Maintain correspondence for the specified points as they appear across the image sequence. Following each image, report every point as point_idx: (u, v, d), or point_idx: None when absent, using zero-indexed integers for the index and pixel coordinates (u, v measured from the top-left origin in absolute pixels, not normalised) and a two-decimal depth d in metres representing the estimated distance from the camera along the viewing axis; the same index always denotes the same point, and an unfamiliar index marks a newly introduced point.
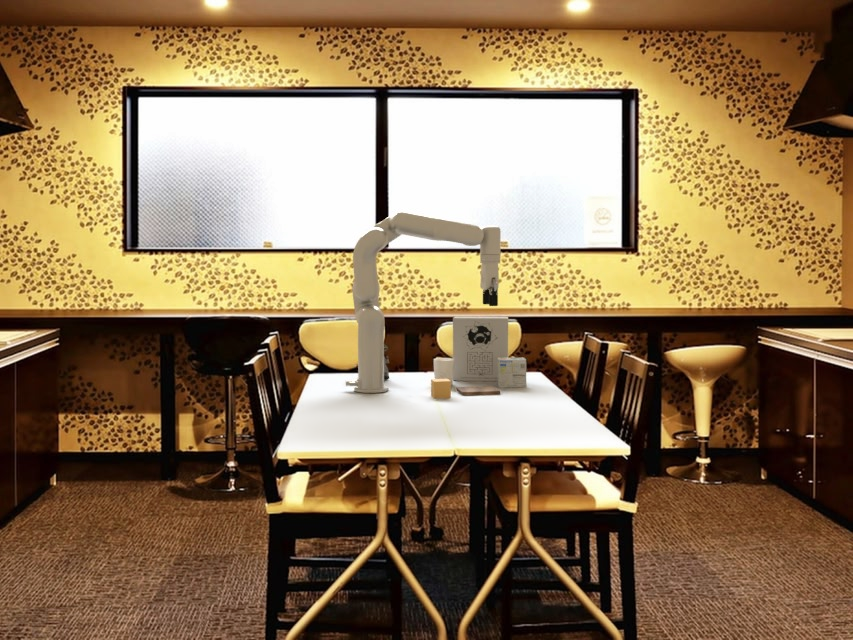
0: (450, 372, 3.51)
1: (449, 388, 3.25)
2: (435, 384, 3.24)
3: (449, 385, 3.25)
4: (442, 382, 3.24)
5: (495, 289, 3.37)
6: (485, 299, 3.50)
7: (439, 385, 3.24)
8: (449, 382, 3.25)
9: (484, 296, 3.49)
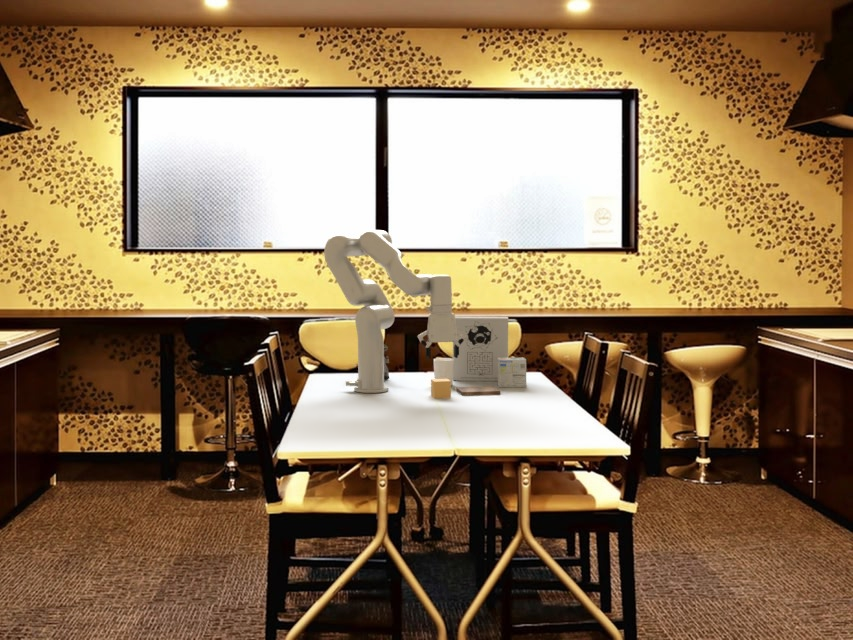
0: (450, 372, 3.51)
1: (449, 388, 3.25)
2: (435, 384, 3.24)
3: (449, 385, 3.25)
4: (442, 382, 3.24)
5: None
6: None
7: (439, 385, 3.24)
8: (449, 382, 3.25)
9: None
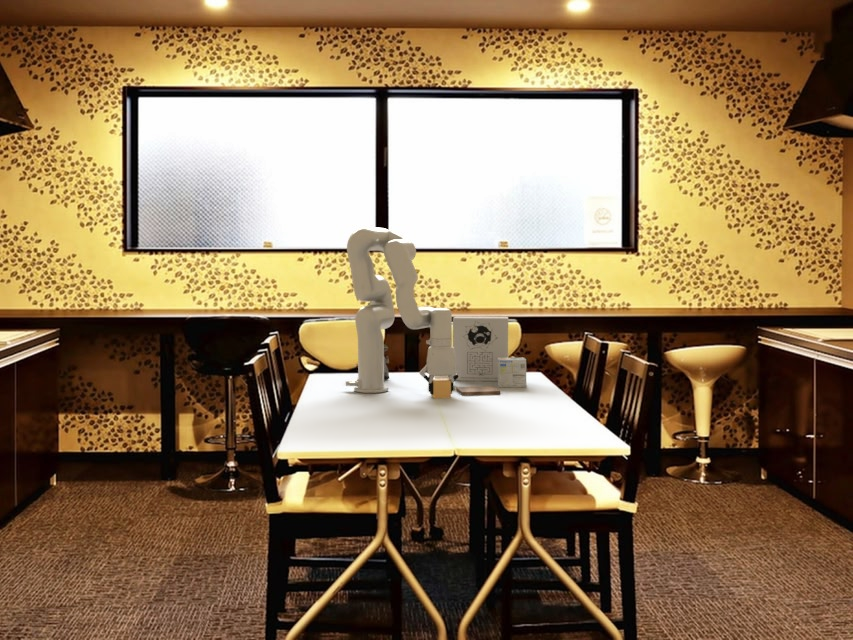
0: None
1: (449, 388, 3.25)
2: (435, 384, 3.24)
3: (449, 385, 3.25)
4: (442, 382, 3.24)
5: None
6: None
7: (439, 385, 3.24)
8: (449, 382, 3.25)
9: None
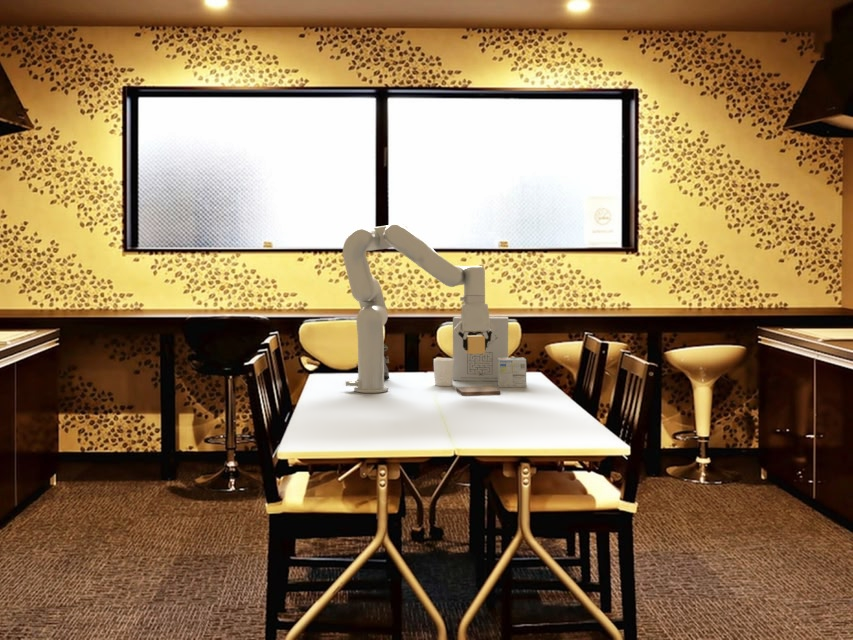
0: (450, 372, 3.51)
1: (483, 343, 3.32)
2: (469, 340, 3.31)
3: (483, 341, 3.31)
4: (476, 338, 3.31)
5: None
6: None
7: (473, 341, 3.31)
8: (483, 338, 3.31)
9: None
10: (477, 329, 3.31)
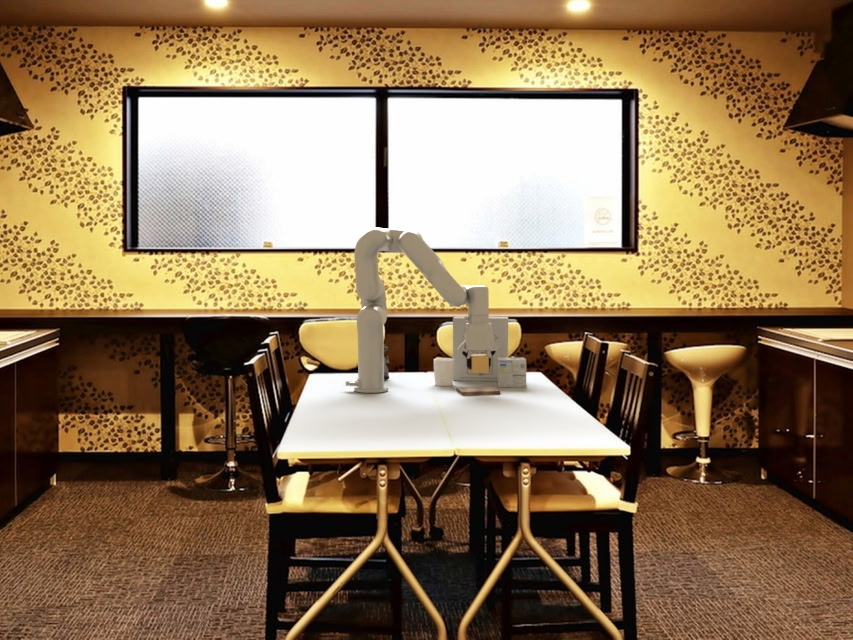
0: (450, 372, 3.51)
1: (487, 363, 3.33)
2: (473, 359, 3.32)
3: (487, 360, 3.33)
4: (480, 357, 3.33)
5: None
6: None
7: (477, 360, 3.33)
8: (487, 357, 3.33)
9: None
10: (481, 348, 3.33)
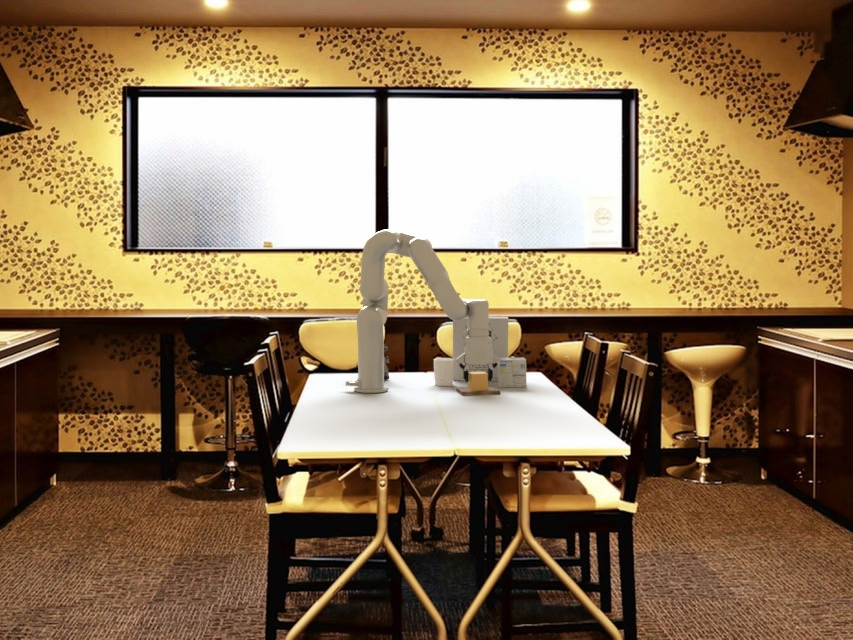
0: (450, 372, 3.51)
1: (486, 380, 3.34)
2: (472, 377, 3.33)
3: (486, 377, 3.34)
4: (479, 375, 3.33)
5: None
6: None
7: (476, 377, 3.33)
8: (486, 375, 3.34)
9: None
10: (480, 362, 3.33)
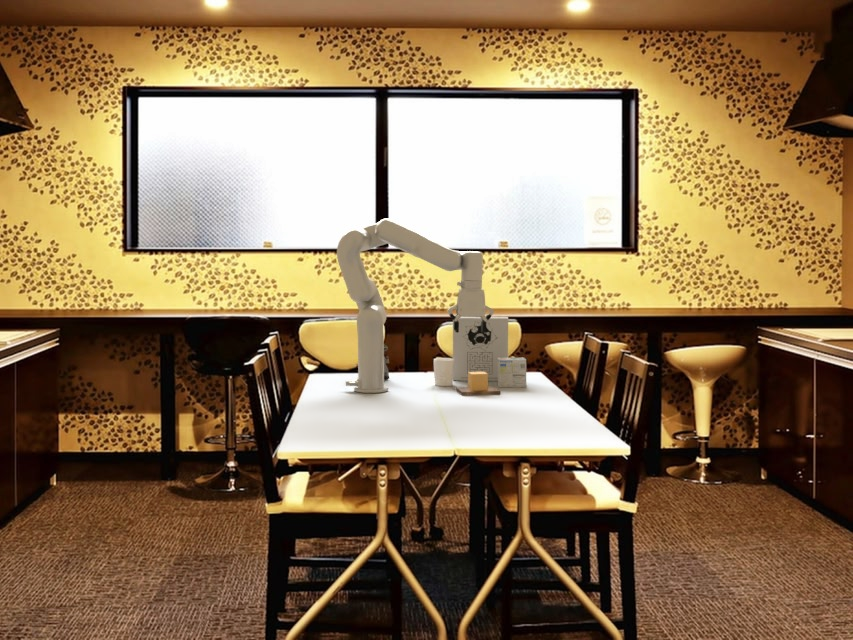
0: (450, 372, 3.51)
1: (486, 380, 3.34)
2: (472, 377, 3.33)
3: (486, 377, 3.34)
4: (479, 375, 3.33)
5: None
6: None
7: (476, 377, 3.33)
8: (486, 375, 3.34)
9: None
10: (473, 314, 3.33)
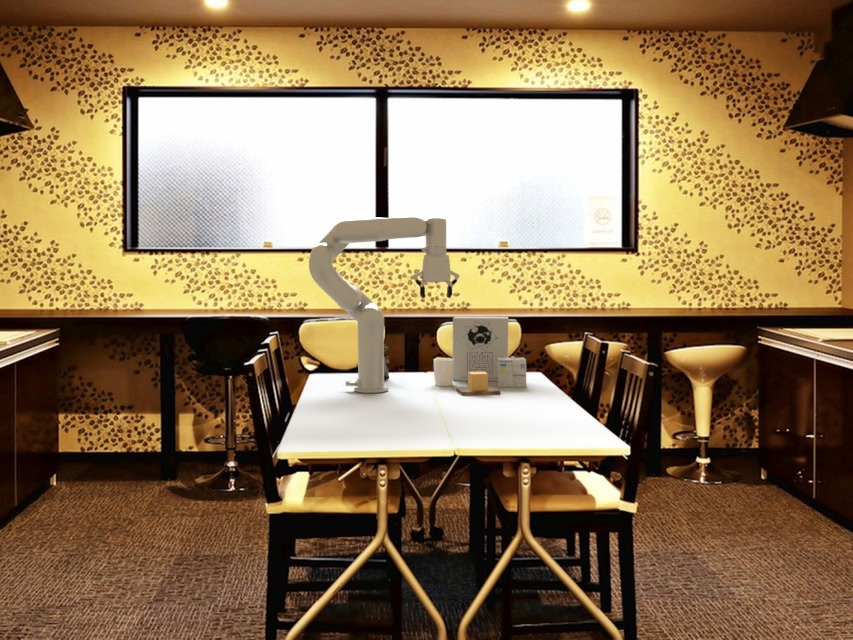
0: (450, 372, 3.51)
1: (486, 380, 3.34)
2: (472, 377, 3.33)
3: (486, 377, 3.34)
4: (479, 375, 3.33)
5: None
6: (424, 292, 3.38)
7: (476, 377, 3.33)
8: (486, 375, 3.34)
9: (424, 289, 3.38)
10: (438, 279, 3.37)
